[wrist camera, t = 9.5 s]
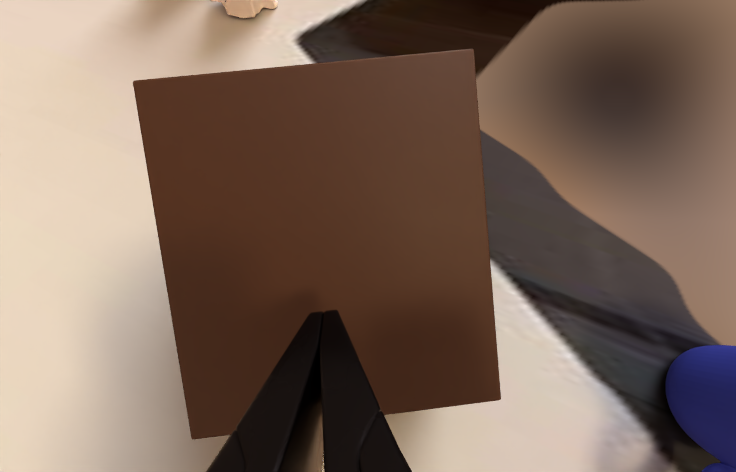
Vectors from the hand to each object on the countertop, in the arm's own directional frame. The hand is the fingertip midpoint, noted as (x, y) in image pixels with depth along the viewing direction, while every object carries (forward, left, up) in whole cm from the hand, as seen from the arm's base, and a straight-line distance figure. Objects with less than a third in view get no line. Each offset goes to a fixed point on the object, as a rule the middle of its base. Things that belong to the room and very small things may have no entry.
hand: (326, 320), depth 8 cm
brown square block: (+2, +1, -2) cm, 4 cm away
